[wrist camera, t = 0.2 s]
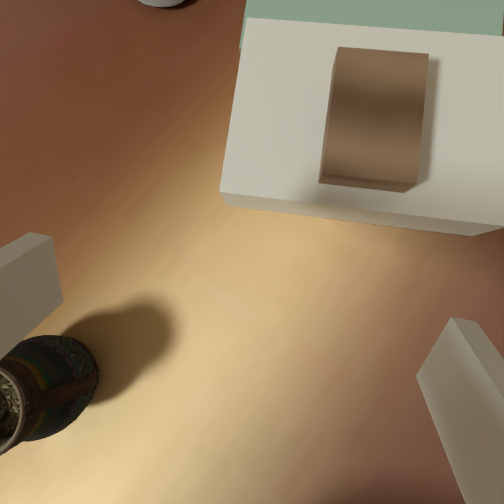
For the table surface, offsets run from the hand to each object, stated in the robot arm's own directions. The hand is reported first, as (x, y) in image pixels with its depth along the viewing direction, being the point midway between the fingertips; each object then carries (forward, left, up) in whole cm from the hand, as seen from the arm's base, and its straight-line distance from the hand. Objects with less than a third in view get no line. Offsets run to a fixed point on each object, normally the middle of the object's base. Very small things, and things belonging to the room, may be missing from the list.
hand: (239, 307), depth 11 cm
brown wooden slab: (+13, -6, -11) cm, 19 cm away
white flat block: (+14, -6, -15) cm, 22 cm away
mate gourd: (-9, +15, -16) cm, 23 cm away
